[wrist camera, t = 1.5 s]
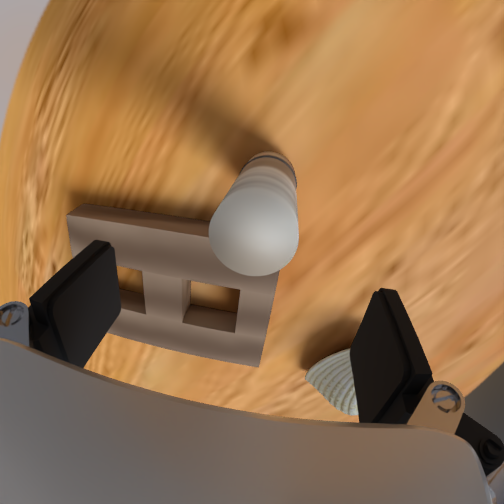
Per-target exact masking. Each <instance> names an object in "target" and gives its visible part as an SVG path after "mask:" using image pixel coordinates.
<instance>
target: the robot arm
mask: <svg viewBox="0 0 504 504" xmlns="http://www.w3.org/2000/svg"><path fill="white" fill-rule="evenodd" d="M29 300H30V303H31V305H30V306H29V307H27V306H26V305H25V304H24V303H22V302H18V301H15V302H9V303H6V304H4V305H2V306H0V504H504V445H503V443H502V441H501V440H500V439H499V438H498V437H497V436H496V435H495V434H493V433H492V432H490V431H489V430H487V429H486V428H485V427H483V426H482V425H480V424H479V423H477V422H476V421H475V420H473V419H472V418H470V417H468V415H466V414H465V413H463V411H464V407H465V400H464V397H463V395H462V393H461V392H460V391H459V389H458V388H457V387H455V386H454V385H453V384H451V383H449V382H446V381H435V382H434V380H433V378H432V371H431V369H430V366H429V364H428V361H427V358H426V356H425V354H424V351H423V349H422V346H421V344H420V341H419V339H418V337H417V334H416V332H415V330H414V327H413V325H412V323H411V321H410V318H409V316H408V314H407V312H406V310H405V307H404V305H403V303H402V301H401V299H400V297H399V295H398V293H397V291H396V290H392V289H385V288H380V289H379V291H375V292H374V293H373V295H372V298H371V300H370V303H369V305H368V308H367V310H366V313H365V315H364V318H363V320H362V322H361V325H360V327H359V329H358V332H357V334H356V336H355V339H354V341H353V343H352V345H351V348H350V362H351V368H352V374H353V380H354V387H355V393H356V400H357V408H358V415H359V423H354V422H336V421H322V420H309V419H299V418H290V417H281V416H273V415H266V414H259V413H253V412H246V411H240V410H235V409H229V408H224V407H218V406H213V405H209V404H204V403H199V402H195V401H190V400H186V399H182V398H178V397H174V396H170V395H166V394H162V393H158V392H155V391H151V390H148V389H144V388H141V387H137V386H134V385H131V384H128V383H124V382H121V381H118V380H115V379H112V378H109V377H106V376H103V375H100V374H97V373H95V372H92V371H89V370H86V369H84V366H85V365H86V363H87V361H88V360H89V358H90V357H91V355H92V354H93V352H94V351H95V349H96V348H97V346H98V345H99V343H100V342H101V340H102V339H103V337H104V336H105V334H106V333H107V332H108V330H109V329H110V327H111V326H112V324H113V323H114V321H115V320H116V319H117V317H118V316H119V314H120V312H121V299H120V292H119V284H118V276H117V267H116V257H115V249H114V247H112V246H111V243H110V242H107V241H102V240H94V241H93V242H91V243H90V244H89V245H88V246H87V247H85V248H84V249H83V250H82V251H81V252H80V253H78V254H77V255H76V256H75V257H74V258H73V259H72V260H70V261H69V262H68V263H67V264H66V265H65V266H64V267H62V268H61V269H60V270H59V271H58V272H57V273H56V274H55V275H54V276H53V277H51V278H50V279H49V280H48V281H47V282H46V283H45V284H44V285H43V286H42V287H41V288H40V289H39V290H38V291H37V292H36V293H34V294H33V295H32V296H31V297H30V298H29Z"/></svg>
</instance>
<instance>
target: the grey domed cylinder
mask: <svg viewBox="0 0 504 504" xmlns="http://www.w3.org/2000/svg"><path fill="white" fill-rule="evenodd" d="M296 188H297V182H296V176H295V171H294V168H293V166H292V164H291V162H290V161H289V160H288V159H287V158H286V157H285V156H283V155H281V154H279V153H277V152H271V151H266V152H261V153H258V154H256V155H255V156H253V157H252V158H251V159H250V160H249V161H248V162H247V163H246V164H245V166H244V167H243V168H242V170H241V172H240V174H239V176H238V177H237V179H236V180H235V182H234V184H233V185H232V187H231V188H230V190H229V191H228V193H227V194H226V196H225V197H224V199H223V201H222V202H221V204H220V205H219V207H218V208H217V210H216V212H215V213H214V215H213V217H212V219H211V222H210V225H209V241H210V245H211V247H212V250H213V252H214V253H215V255H216V257H217V258H218V259H219V260H220V261H221V262H222V263H223V264H224V265H225V266H226V267H228V268H229V269H231V270H233V271H235V272H237V273H240V274H243V275H248V276H264V275H269V274H272V273H275V272H277V271H279V270H280V269H282V268H283V267H284V266H286V265H287V264H288V263H289V262H290V260H291V259H292V258H293V256H294V254H295V252H296V250H297V246H298V241H299V232H298V213H297V195H296Z"/></svg>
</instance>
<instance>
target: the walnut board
mask: <svg viewBox="0 0 504 504" xmlns="http://www.w3.org/2000/svg"><path fill="white" fill-rule="evenodd" d="M66 217H67V224H68V231H69V238H70V244H71V250H72V256H73V258H74V257H75V256H76V255H77V254H78V253H80V252H81V251H82V250H83V249H84V248H85V247H87V246H88V245H89V244H90V243H91V242H93V241H94V240H102V241H107V242H110V243H111V246H112V247H114V249H115V257H116V266H121V267H126V268H131V269H135V270H140V271H142V275H143V287H144V294H141V293H136V292H132V291H128V290H123V289H119V292H120V299H121V312H120V314H119V316H118V317H117V319H116V320H115V321H114V323H113V324H112V326H111V327H110V329H109V330H108V332H107V333H110V334H114V335H117V336H120V337H124V338H127V339H131V340H135V341H138V342H142V343H146V344H150V345H153V346H157V347H161V348H165V349H169V350H174V351H178V352H182V353H187V354H191V355H196V356H200V357H205V358H210V359H215V360H220V361H225V362H231V363H236V364H242V365H247V366H253V367H259V364H260V359H261V355H262V351H263V346H264V342H265V337H266V332H267V328H268V323H269V319H270V314H271V309H272V304H273V300H274V295H275V290H276V285H277V280H278V276H279V271H280V270H279V271H277V272H275V273H272V274H269V275H264V276H248V275H243V274H240V273H237V272H235V271H233V270H231V269H229V268H228V267H226V266H225V265H224V264H223V263H222V262H221V261H220V260H219V259H218V258H217V257H216V255H215V253H214V252H213V250H212V247H211V245H210V241H209V225H210V221H203V220H197V219H190V218H183V217H177V216H170V215H163V214H156V213H149V212H142V211H135V210H128V209H121V208H113V207H106V206H98V205H91V204H82V205H80V206H79V207H77V208H76V209H74V210H73V211H71V212H70V213H68V214H67V215H66ZM191 281H196V282H201V283H206V284H212V285H217V286H223V287H229V288H234V289H240V298H239V305H238V313H234V312H228V311H223V310H217V309H212V308H207V307H202V306H197V305H192V304H190V300H191Z"/></svg>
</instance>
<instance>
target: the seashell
mask: <svg viewBox="0 0 504 504" xmlns="http://www.w3.org/2000/svg"><path fill="white" fill-rule="evenodd" d="M305 380H307V381H308V382H309V383H310V384H312V385H313V386H314V387H315V388H316V389H317V390H318V391H319V392H320V393H321V394H322V395H323V396H324V398H325V399H327V400H328V401H329V403H330V404H332V405H333V406H334V407H335V408H336V409H338V410H341V411H342V412H343V413H345V414H348V415H358V408H357V400H356V393H355V387H354V380H353V374H352V368H351V362H350V349H346V350H343V351H340V352H337V353H335V354H332V355H330V356H328V357H326V358H324V359H322V360H320V361H319V362H317V363H316V364H315V365H313V366H312V367H311V368H310V369H309V370H308V372H307V374H306V376H305Z"/></svg>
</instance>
